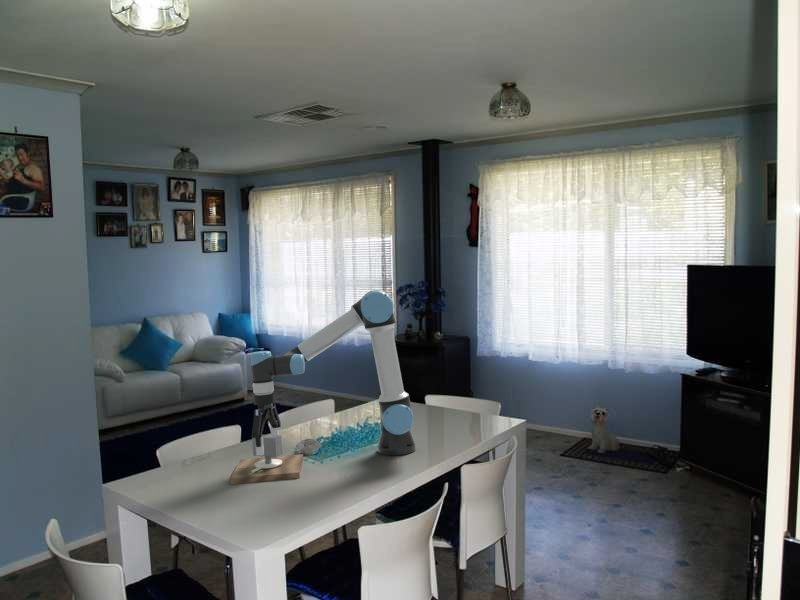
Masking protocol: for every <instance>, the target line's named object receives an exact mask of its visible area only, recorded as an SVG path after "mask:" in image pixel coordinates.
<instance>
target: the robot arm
mask: <svg viewBox="0 0 800 600" xmlns="http://www.w3.org/2000/svg"><path fill="white" fill-rule="evenodd" d="M394 308H395V307H394V301H393V298H391V296H390V295H389V294H388V292H385V291H383V290H377V289H375V290H374V289H373V290H370V291H368V292H366V293H365V294H364V295H363V296H362V297H361V298H360V299H359V300H358V301H356V302H355V303H354V304H352V305H351V307H350V309H349V310H347V312H345V313H344V314H342V315H340V316H339V317H338V318H336V319H335V320H333V321H332V322H330V323H328V324H327V325H326V326H324V327H323V328H321V329H320V330H318V331H317V332H315V333H313V334H312V335H311V336H309V337H308V338H306V339H305V340H303V341H302V342H300V343H299V344H298V345H296V346H295V347H293V348H291V349H290V350H288V351H286V352H285V353H283V354H282V355H272V352H271V351H269V350H261V351H255V352H252V353H251V355H250V368H251V370H250V372H251V379H252V385H251V387H252V391H253V405H255V406H257V409H254V410H253V422H252V428H251V438H255V444H256V455H264V445H263V437H261V436H262V435H263V432H264V427H265V423H266V421H268V423H269V424H270V426H271V428H270V435H280V434H279V428H281V426H282V425H281V423H282V422H281V420H280V417H279V414H278V410H277V407H276V405H277V404H276V402H275V399H276V398H275V393H274V392H275V388H274V387H275V386H274V385H275V384H274V377H279V376H280V377H282V376H297V375H303V374H305V370H306V363H308V362H309V361H312V359H314V358H315V357H316V356H318V355H319V354H321V353H323V352H324V351H326V350H327V349H329V348H330V347H332V346H333V345H335V344H336V343H338V342H339V341H340V340H342V339H344V338H345V337H347V336H348V335H350V334H351V333H353V332H354V331H355V330H357V329H359V328H360V327H362V326H363V327H364V329H365V331H367V332H368V333H369V335H370V339H371V340H370V341H371V345H372V351H373V356H374V361H375V366H376V373H377V376H378V377H377V378H378V383H379V389H380V395H379V397H378V405H379V419H380V436H379V440H378V442H377V452H378V454H380V455H384V456H402V455H407V454H411V453H413V452H415V451H416V449H417V448H416V445H417V444H416V442H415V439H414V437H413V433H412V431H411V429H412V427H413V425H414V422H415V414H414V411H413V409H412V405H411V400H410V394H409V393H408V392H406V391H405V389H404V383H403V379H402V372H401V368H400V367H401V366H400V362H399V361H400V360H399V357H398V351H397V346H396V340H395V335H394V330H393V329H394V326H395V325H396V324H397V323H396V318H395V313H394Z"/></svg>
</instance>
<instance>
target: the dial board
mask: <svg viewBox="0 0 800 600" xmlns="http://www.w3.org/2000/svg"><path fill="white" fill-rule="evenodd" d="M271 458H272V459H279V460H282V464H281V465H280V466H278V467H274V468H268V469H260V470H258V471H256V472H254V473H253V472H251V471H252V470H254V469H256V467H255V463H257V462H259V461H262V460H265V457H256V458H244V459H243V458H242V459H240V460H239V462H238V464H237V466H236V467H235V469H234V471H233V473H232V475H231V476H230V479H229V480H230V481H229V482H230V484H231V485H234V484H235V485H236V484H246V483H257V482H269V481H277V480H278V481H279V480H281V481H282V480H288V479H289V480H290V479H291V480H292V479H300V477H301V473H302V468H303V463H304V455H303V454H300V455H295V454H291V455H280V456H278V457H271Z"/></svg>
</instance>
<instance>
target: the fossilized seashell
mask: <svg viewBox="0 0 800 600" xmlns="http://www.w3.org/2000/svg"><path fill="white" fill-rule="evenodd" d="M320 447H321V448H322V443H320V442H319V441H318V440H317V439H314V438H306V439H302V440H300V441H299V442H297V443H296V446H295V449H294V455H300V454H303V457H310V456H309V455H311V454H312V453H313V452H315V451H316V450H318V449H319V448H320ZM321 448H320V449H321ZM311 456H312V455H311Z"/></svg>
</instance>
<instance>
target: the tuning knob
mask: <svg viewBox="0 0 800 600" xmlns="http://www.w3.org/2000/svg"><path fill="white" fill-rule="evenodd" d="M261 437H263V445H264V455H256V444H255V438H252V437H251V438H252V439H251V440H252V453H253V456H254V457H264V458H265V460H262V461H259V462H257V463H255V467H256V469H254V470H252V471H251V472H253V473H254V472H256V471H258V470H260V469H268V468H274V467H278V466H280V465H281V464H282V460H279V459H272V458H271V457H278V456H283V444H282V435H281V434H279V435H271V434H262V436H261Z"/></svg>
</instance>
